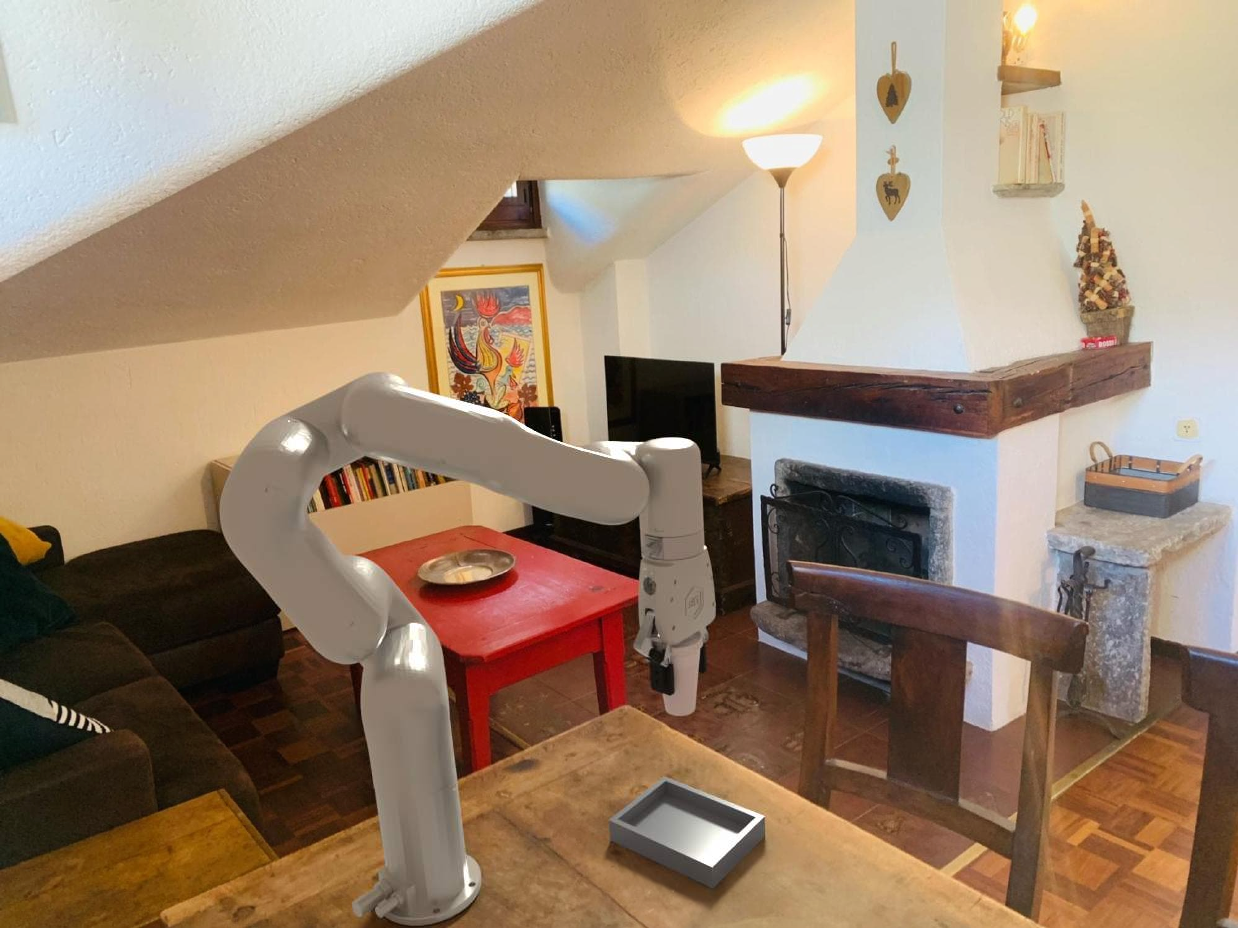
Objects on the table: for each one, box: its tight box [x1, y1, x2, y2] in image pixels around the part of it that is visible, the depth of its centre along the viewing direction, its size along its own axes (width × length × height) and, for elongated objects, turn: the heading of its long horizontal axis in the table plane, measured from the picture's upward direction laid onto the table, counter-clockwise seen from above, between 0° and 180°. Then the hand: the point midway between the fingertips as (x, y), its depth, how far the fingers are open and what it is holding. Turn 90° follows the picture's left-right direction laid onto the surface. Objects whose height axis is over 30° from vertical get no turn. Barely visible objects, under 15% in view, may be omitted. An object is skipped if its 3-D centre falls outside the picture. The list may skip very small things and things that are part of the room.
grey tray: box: [608, 776, 766, 890], centre depth 120 cm, size 12×16×3 cm
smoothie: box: [656, 631, 703, 717], centre depth 114 cm, size 6×6×14 cm
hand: (679, 679), depth 115 cm, fingers closed on smoothie, 6 cm apart
